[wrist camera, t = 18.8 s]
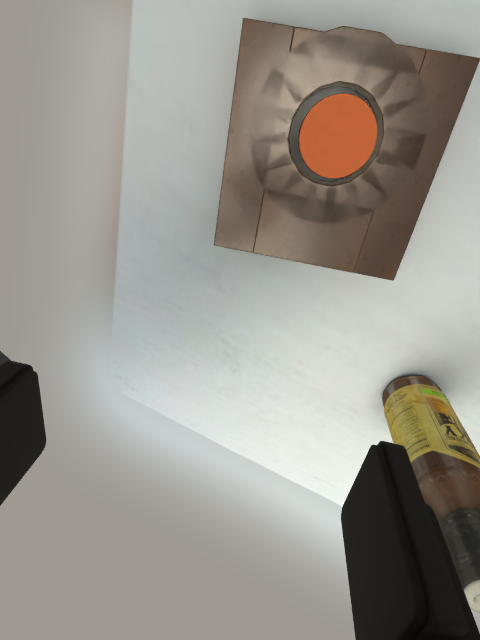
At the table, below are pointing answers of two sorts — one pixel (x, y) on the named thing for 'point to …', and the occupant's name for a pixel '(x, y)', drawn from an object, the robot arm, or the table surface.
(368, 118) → the orange cylinder
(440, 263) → the table surface
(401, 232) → the back board
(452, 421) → the sauce bottle
